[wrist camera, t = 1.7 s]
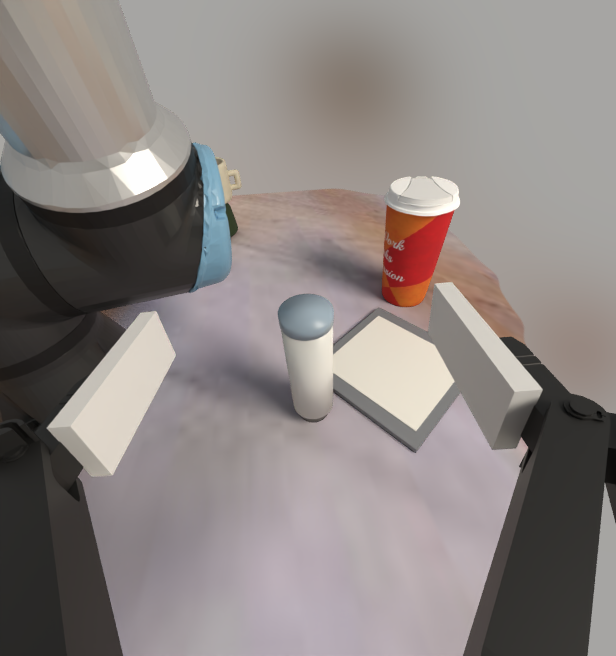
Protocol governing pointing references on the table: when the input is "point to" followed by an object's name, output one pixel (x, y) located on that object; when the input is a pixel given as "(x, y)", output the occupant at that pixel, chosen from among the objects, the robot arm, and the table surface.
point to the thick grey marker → (309, 353)
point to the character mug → (228, 191)
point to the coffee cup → (415, 235)
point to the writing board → (394, 376)
